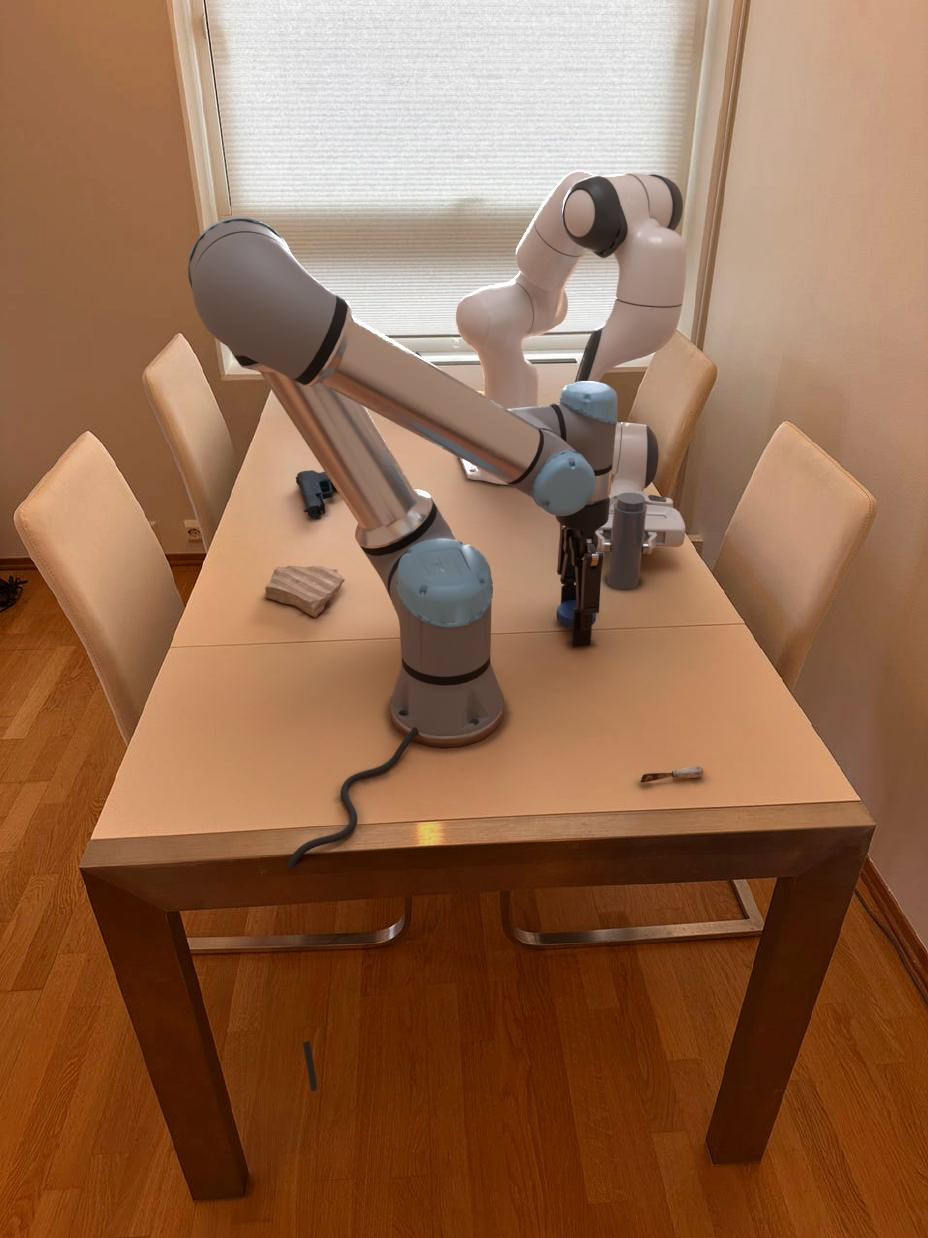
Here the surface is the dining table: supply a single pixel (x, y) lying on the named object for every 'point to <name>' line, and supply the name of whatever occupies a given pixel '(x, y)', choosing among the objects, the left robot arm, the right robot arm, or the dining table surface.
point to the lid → (568, 613)
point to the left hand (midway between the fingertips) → (574, 632)
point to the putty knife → (674, 774)
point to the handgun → (314, 491)
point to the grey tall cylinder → (626, 541)
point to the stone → (304, 587)
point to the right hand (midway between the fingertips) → (626, 549)
